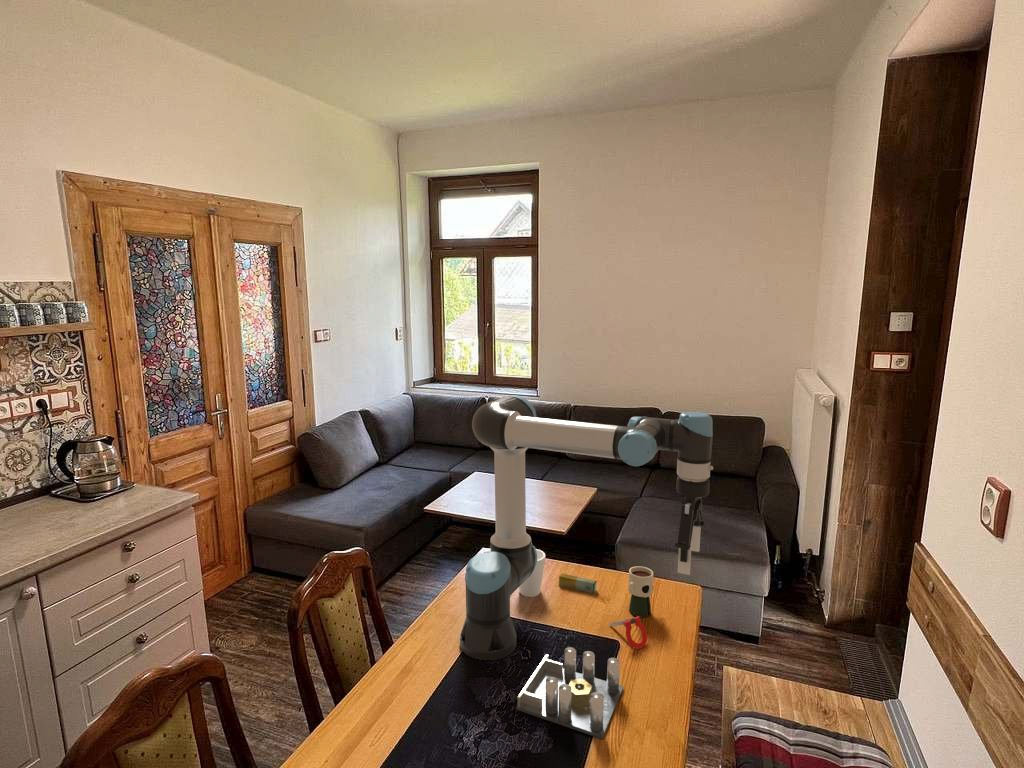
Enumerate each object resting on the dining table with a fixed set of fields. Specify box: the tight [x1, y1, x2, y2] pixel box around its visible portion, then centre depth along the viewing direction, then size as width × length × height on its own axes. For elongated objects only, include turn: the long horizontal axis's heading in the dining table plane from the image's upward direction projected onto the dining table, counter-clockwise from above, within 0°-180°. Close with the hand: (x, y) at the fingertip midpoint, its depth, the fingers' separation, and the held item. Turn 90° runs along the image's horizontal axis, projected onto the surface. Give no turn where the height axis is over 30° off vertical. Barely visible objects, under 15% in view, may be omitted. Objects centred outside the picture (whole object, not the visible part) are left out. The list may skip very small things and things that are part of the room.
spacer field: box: [516, 646, 624, 740], centre depth 129 cm, size 20×17×8 cm
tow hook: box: [609, 616, 648, 649], centre depth 153 cm, size 7×10×7 cm
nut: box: [569, 679, 592, 707], centre depth 128 cm, size 5×6×3 cm
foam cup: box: [518, 548, 546, 598], centre depth 175 cm, size 10×9×13 cm
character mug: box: [628, 565, 654, 618], centre depth 164 cm, size 11×7×13 cm, turn 132°
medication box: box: [558, 573, 598, 595], centre depth 178 cm, size 12×3×4 cm, turn 66°
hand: (688, 561), depth 136 cm, fingers open, 13 cm apart
